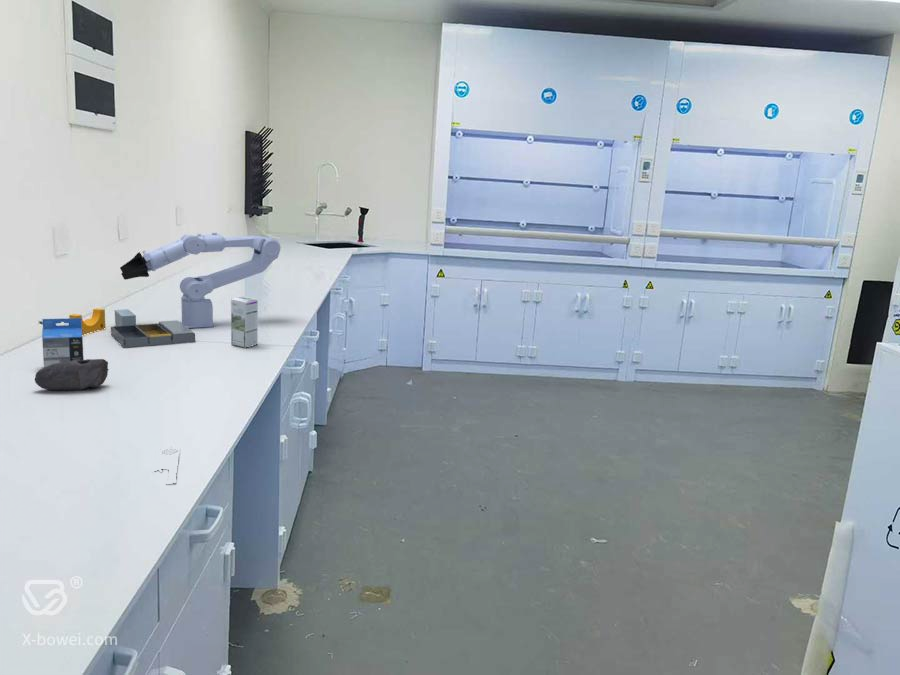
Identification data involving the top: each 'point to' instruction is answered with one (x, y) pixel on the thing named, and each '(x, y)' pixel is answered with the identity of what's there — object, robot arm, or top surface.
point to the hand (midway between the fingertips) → (122, 273)
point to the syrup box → (244, 322)
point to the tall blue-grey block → (124, 317)
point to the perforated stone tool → (73, 375)
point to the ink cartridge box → (62, 341)
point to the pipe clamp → (92, 321)
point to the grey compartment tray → (152, 334)
